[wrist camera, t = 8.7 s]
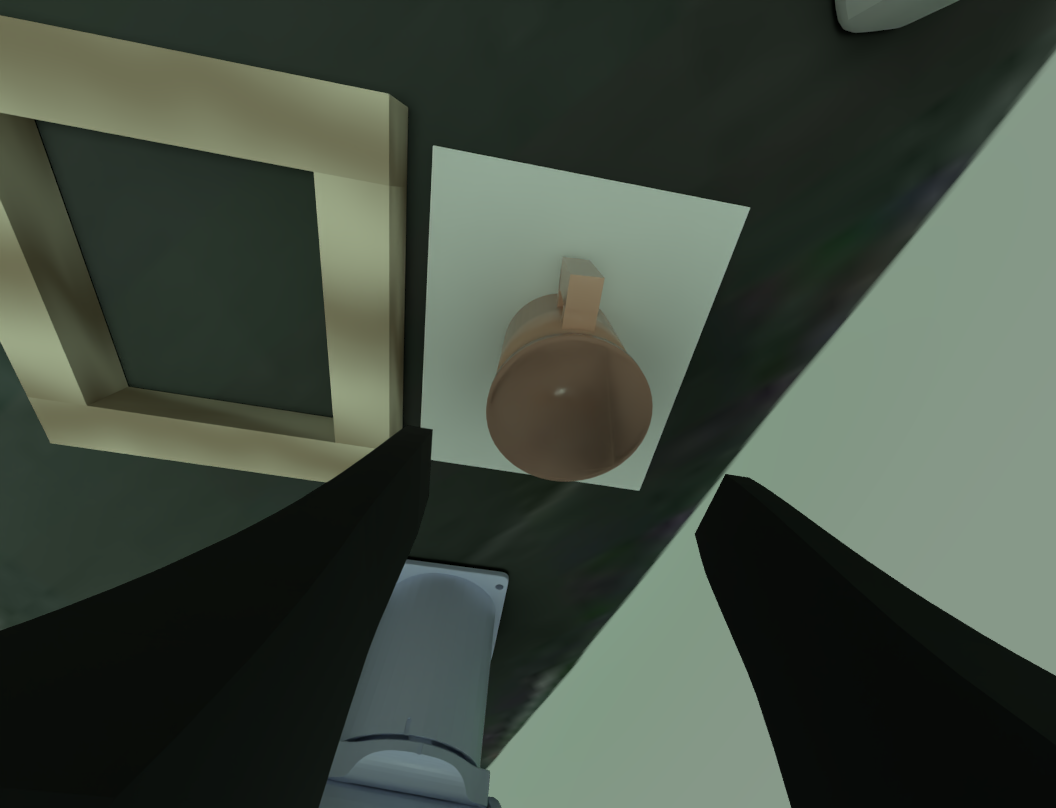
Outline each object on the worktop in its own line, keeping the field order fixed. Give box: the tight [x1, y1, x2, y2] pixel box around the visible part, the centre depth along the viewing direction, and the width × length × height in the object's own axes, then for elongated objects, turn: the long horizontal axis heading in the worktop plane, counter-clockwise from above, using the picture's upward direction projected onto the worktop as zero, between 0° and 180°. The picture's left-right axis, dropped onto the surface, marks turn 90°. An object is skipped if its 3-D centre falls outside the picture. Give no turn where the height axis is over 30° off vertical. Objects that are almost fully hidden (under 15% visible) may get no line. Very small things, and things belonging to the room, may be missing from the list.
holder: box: [0, 15, 408, 482], centre depth 16 cm, size 16×16×2 cm
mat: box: [421, 145, 750, 491], centre depth 18 cm, size 14×12×1 cm
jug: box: [486, 257, 653, 482], centre depth 14 cm, size 5×7×6 cm
